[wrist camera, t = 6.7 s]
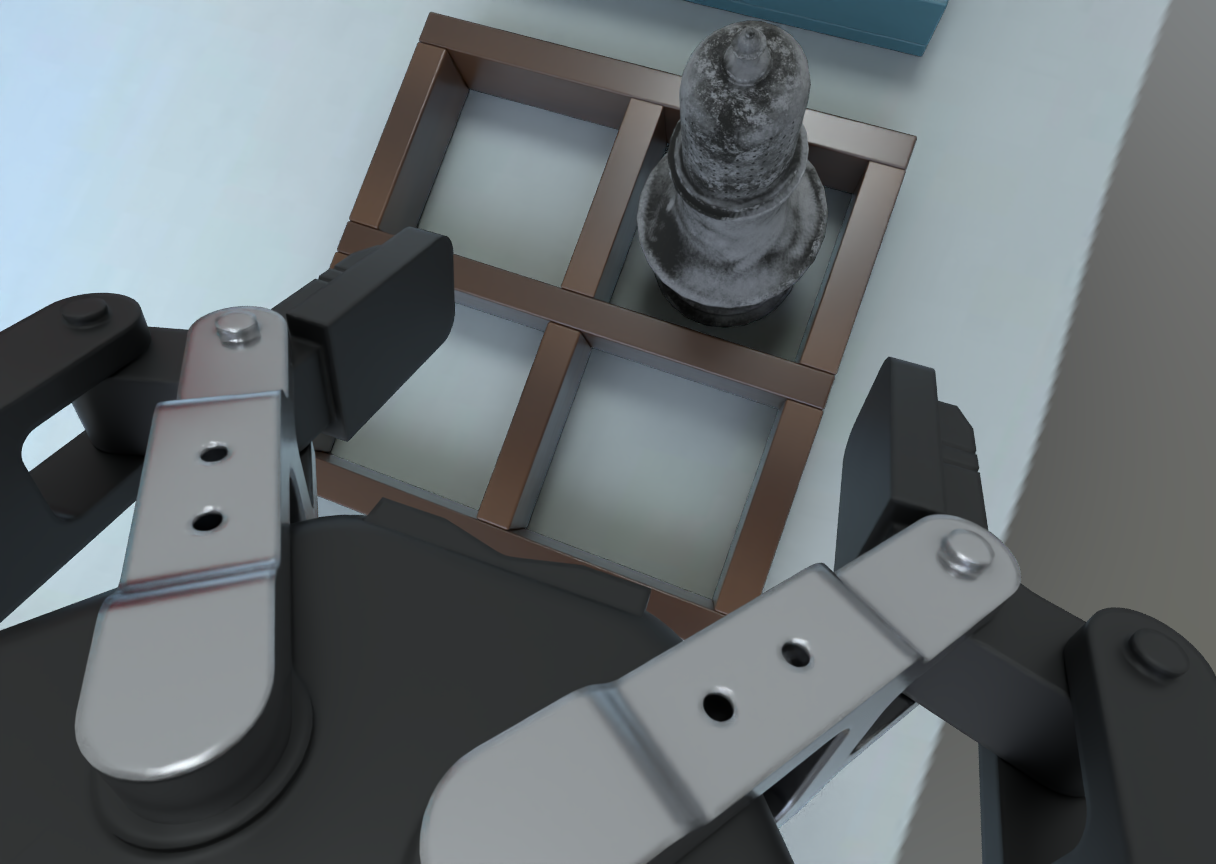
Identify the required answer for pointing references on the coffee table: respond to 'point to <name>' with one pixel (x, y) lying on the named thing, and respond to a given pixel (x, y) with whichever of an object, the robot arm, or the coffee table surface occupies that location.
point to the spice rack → (611, 292)
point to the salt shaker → (735, 180)
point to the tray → (851, 18)
